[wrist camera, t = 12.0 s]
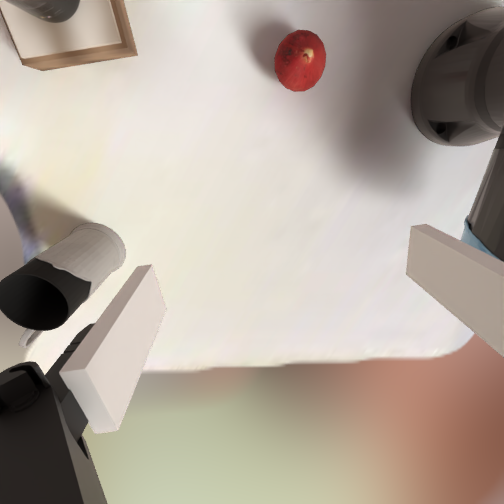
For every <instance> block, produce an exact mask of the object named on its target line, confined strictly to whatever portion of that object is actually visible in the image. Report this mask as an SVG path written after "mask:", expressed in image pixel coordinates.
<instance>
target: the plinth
mask: <svg viewBox="0 0 504 504" xmlns="http://www.w3.org/2000/svg"><path fill="white" fill-rule="evenodd" d="M0 11H1V14H2V16H3V19H4V21H5V24H6V26H7V28H8V31H9V33H10V36H11V38H12V41H13V43H14V45H15V48H16V50H17V53H18V55H19V58H20V60H21V62H22V65H25V66H28V67H31V68H34V69H38V70H41V71H45V70H51V69H57V68H63V67H70V66H76V65H82V64H88V63H94V62H100V61H106V60H112V59H119V58H125V57H131V56H137V55H138V54H137V50H136V46H135V42H134V39H133V35H132V31H131V27H130V23H129V20H128V16H127V12H126V8H125V4H124V0H80V3H79V6H78V9H77V11H76V12H75V14H74V15H73V16H72V17H71V18H70V19H68V20H67V21H64V22H61V23H50V22H46V21H43V20H41V19H39V18H37V17H35V16H33V15H31V14H29V13H27V12H25V11H23V10H21V9H19V8H18V7H16V6H14V5H12V4H10V3H8V2H6V1H4V0H0Z"/></svg>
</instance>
